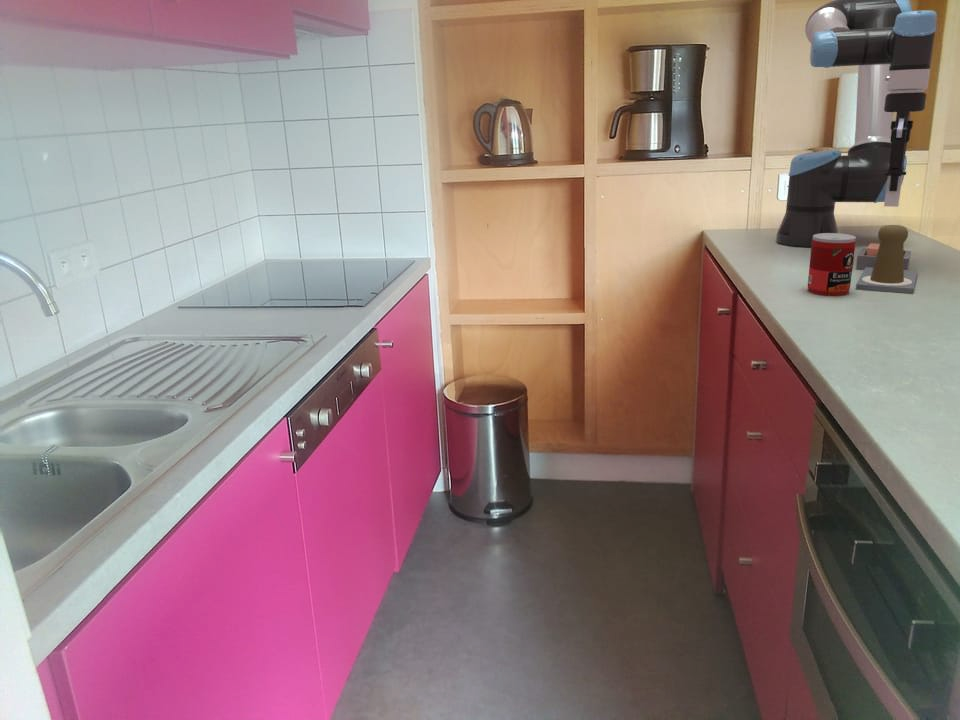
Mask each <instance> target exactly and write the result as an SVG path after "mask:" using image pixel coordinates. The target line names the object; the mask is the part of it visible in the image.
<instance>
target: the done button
mask: <svg viewBox="0 0 960 720" xmlns="http://www.w3.org/2000/svg"><path fill="white" fill-rule="evenodd" d="M879 245H880V243H876V242H875V243H873V242H871V243H869V245H868V246H867V254H866V255H867V256H877V253H878V249H879Z"/></svg>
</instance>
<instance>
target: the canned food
mask: <svg viewBox="0 0 960 720" xmlns="http://www.w3.org/2000/svg"><path fill="white" fill-rule="evenodd" d="M856 239H857V237H856V236H855V235H852V234H847V233H841V232H838V233H821V234H815V235H813V238H812V245H811V247H810V248H811V249H810V257H809V265H808V266H809V268H808V277H807V289H808V291H809V292H810V293H812V294H814V295H821V296H831V297H833V296H836V297H838V296H844V295H847V294H849V292H850V290H851V283H852V275H853V268H854V258H855V252H856V251H855V250H856V241H857V240H856Z"/></svg>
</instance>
